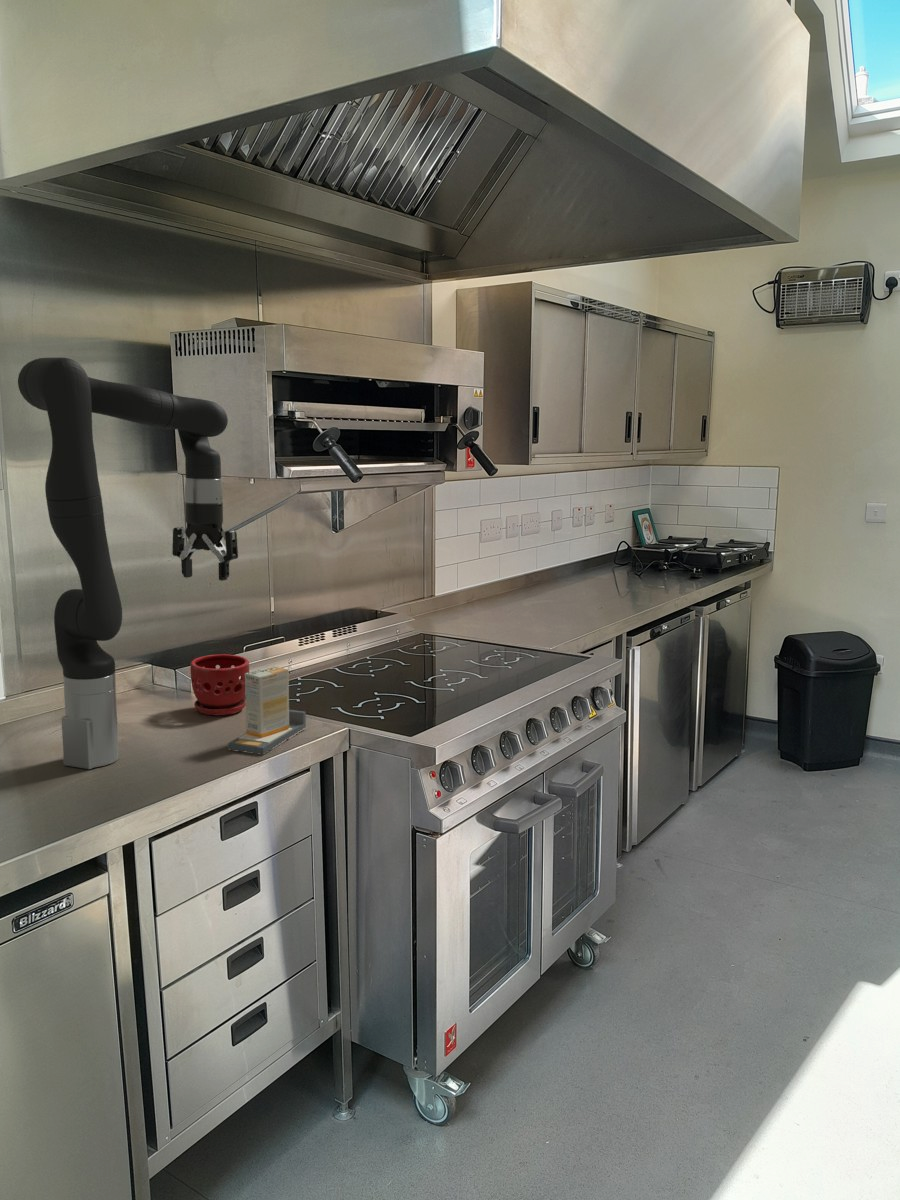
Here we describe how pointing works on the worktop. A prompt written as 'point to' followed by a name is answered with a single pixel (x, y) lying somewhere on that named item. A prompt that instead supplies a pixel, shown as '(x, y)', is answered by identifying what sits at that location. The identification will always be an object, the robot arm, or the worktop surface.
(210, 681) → the plant pot
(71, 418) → the robot arm
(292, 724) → the plate
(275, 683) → the supplement box
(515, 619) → the worktop surface
